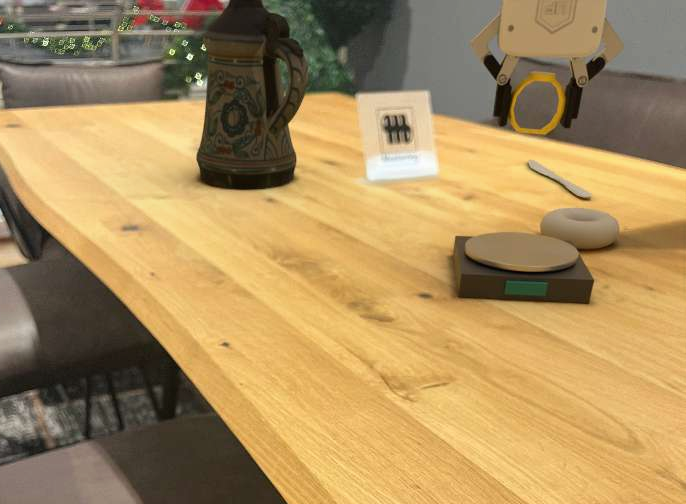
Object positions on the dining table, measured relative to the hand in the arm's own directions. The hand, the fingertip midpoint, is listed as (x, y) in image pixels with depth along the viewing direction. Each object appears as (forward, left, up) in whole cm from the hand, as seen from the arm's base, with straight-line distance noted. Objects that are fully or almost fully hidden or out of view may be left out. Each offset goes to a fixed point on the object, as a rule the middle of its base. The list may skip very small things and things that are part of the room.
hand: (533, 123), depth 84 cm
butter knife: (-12, -46, -15) cm, 50 cm away
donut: (-10, -11, -16) cm, 21 cm away
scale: (0, +5, -15) cm, 16 cm away
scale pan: (0, +5, -13) cm, 14 cm away
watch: (0, 0, -1) cm, 1 cm away
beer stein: (+38, -39, -16) cm, 56 cm away
